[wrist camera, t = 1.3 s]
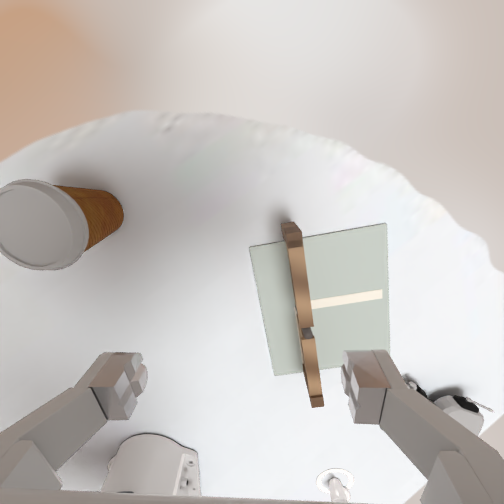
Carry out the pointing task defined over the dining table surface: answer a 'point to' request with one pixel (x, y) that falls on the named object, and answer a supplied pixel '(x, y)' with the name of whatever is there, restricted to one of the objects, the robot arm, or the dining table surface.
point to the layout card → (326, 296)
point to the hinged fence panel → (298, 273)
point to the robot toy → (458, 409)
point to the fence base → (311, 366)
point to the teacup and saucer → (336, 486)
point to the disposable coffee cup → (53, 222)
